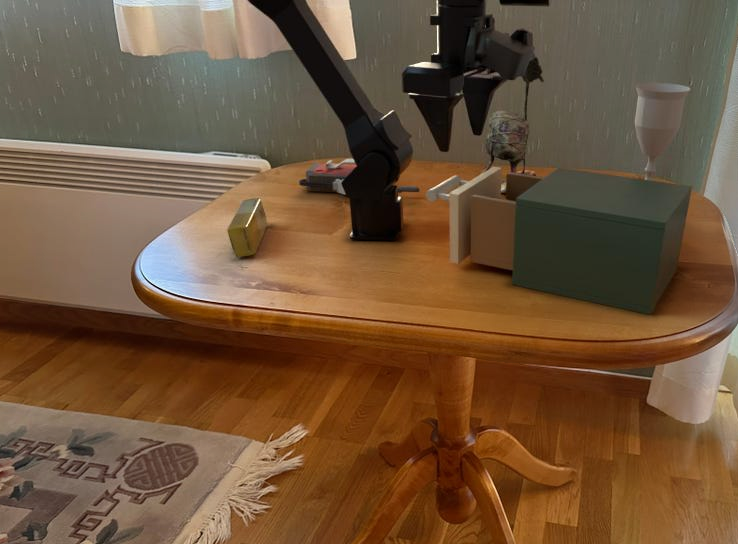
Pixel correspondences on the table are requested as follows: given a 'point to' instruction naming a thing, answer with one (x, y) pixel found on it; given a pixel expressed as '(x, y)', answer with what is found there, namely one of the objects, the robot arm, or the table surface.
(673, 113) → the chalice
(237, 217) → the medication box
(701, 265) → the table surface
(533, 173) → the bird figurine
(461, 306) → the table surface
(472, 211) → the drawer
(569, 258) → the cabinet
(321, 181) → the walkie-talkie
